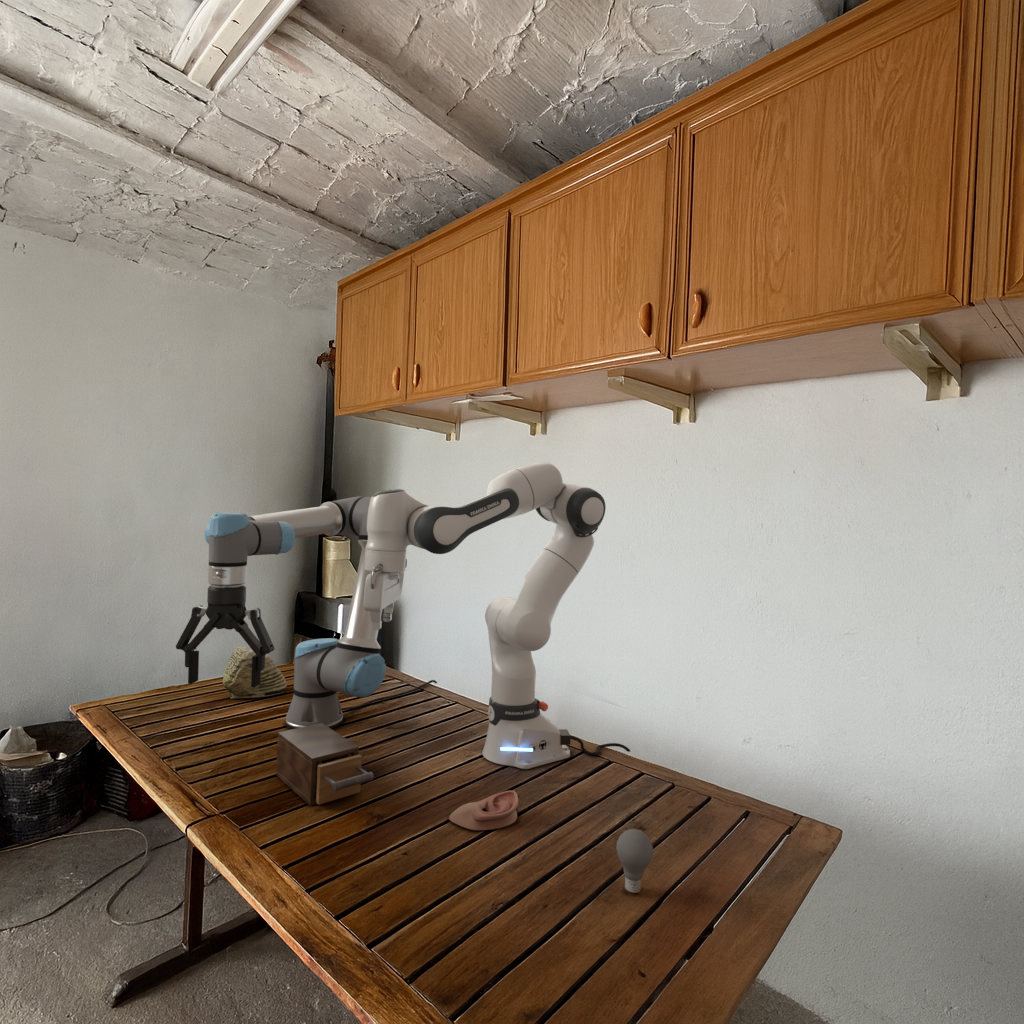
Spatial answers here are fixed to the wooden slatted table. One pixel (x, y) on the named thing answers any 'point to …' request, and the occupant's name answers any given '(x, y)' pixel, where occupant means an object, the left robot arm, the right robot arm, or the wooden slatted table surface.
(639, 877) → the light bulb
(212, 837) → the wooden slatted table surface
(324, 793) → the drawer
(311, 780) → the cabinet
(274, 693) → the fossil
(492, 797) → the anatomical model
